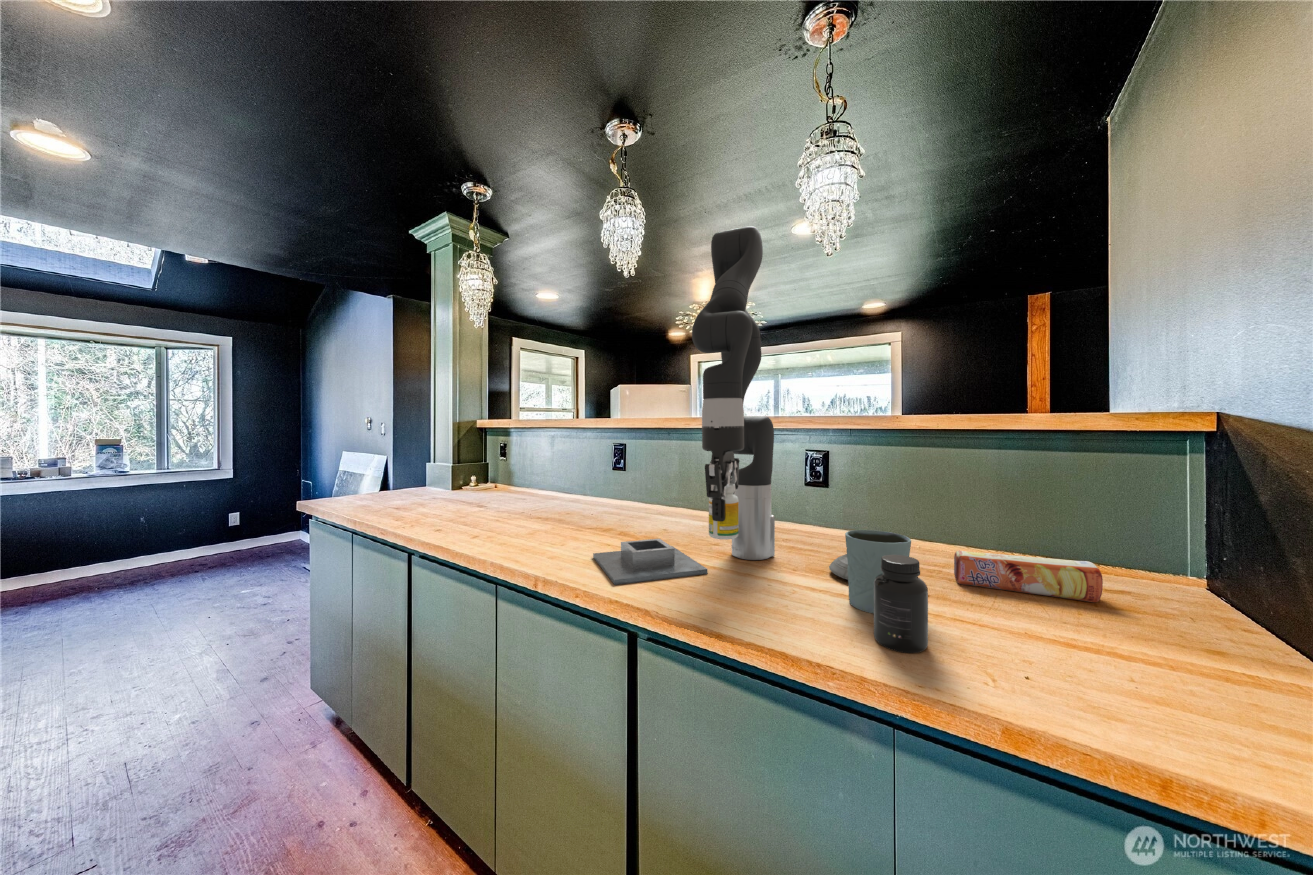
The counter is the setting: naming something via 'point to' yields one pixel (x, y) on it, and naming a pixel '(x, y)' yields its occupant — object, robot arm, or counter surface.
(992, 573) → the snack package
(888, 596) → the supplement bottle
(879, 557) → the grey-green cup
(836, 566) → the flying saucer
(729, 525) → the supplement bottle
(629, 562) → the sleeve
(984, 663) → the counter surface
